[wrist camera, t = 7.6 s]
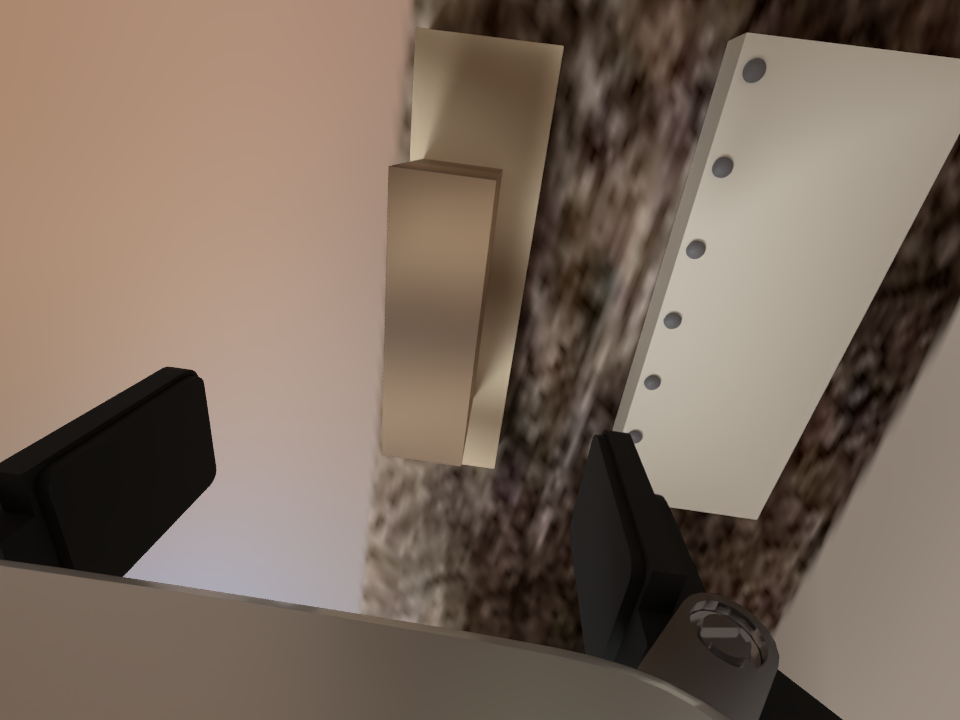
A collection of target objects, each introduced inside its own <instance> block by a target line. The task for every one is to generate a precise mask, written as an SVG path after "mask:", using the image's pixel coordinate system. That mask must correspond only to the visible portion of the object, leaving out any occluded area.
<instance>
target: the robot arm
mask: <svg viewBox="0 0 960 720" xmlns="http://www.w3.org/2000/svg"><path fill="white" fill-rule="evenodd" d="M215 475H216V464H215V457H214V449H213V443H212V435H211V429H210V421H209V415H208V407H207V400H206V394H205V387H204V382H203V380H202V378H200V377H198V375H197V373H196V372H195V371H193V370H188V369H181V368H174V367H165V368H162V369H161V370H159V371H157V372H155V373H154V374H152V375H150V376H148V377H147V378H145V379H143V380H142V381H140V382H138V383H137V384H135V385H133V386H131V387H130V388H128V389H126V390H124V391H123V392H121V393H119V394H118V395H116V396H115V397H112V398H111V399H109V400H108V401H106V402H104V403H102V404H100V405H99V406H97V407H95V408H93V409H92V410H90V411H88V412H87V413H85V414H84V415H82V416H80V417H78V418H76V419H75V420H73V421H71V422H69V423H68V424H66V425H64V426H63V427H61V428H59V429H57V430H56V431H54V432H52V433H51V434H49V435H47V436H45V437H44V438H42V439H40V440H38V441H37V442H35V443H33V444H32V445H30V446H28V447H27V448H25V449H23V450H21V451H20V452H18V453H16V454H14V455H13V456H11V457H9V458H8V459H6V460H4V461H3V462H1V463H0V720H842V719H841V718H840V717H838V716H837V715H836V714H835V713H833V712H832V711H831V710H829V709H828V708H827V707H826V706H824V705H823V704H822V703H820V702H819V701H818V700H817V699H815V698H814V697H813V696H811V695H810V694H809V693H807V692H806V691H805V690H803V689H802V688H801V687H800V686H798V685H797V684H796V683H794V682H793V681H792V680H791V679H789V678H788V677H787V676H785V675H784V674H782V672H780V671H779V670H778V663H779V654H778V650H777V647H776V644H775V641H774V640H773V638H772V636H771V635H770V633H769V631H768V630H767V628H766V627H765V626H764V625H763V624H762V623H761V622H760V621H759V620H758V619H757V618H756V616H754V615H753V614H752V613H751V612H749V611H748V610H747V609H745V608H744V607H743V606H741V605H740V604H738V603H736V602H734V601H732V600H730V599H729V598H726V597H723V596H720V595H717V594H714V593H706V591H705V589H704V587H703V584H702V582H701V580H700V577H699V575H698V573H697V570H696V568H695V566H694V564H693V561H692V559H691V557H690V554H689V552H688V550H687V547H686V545H685V543H684V540H683V538H682V536H681V533H680V531H679V529H678V526H677V524H676V522H675V520H674V517H673V515H672V513H671V510H670V508H669V506H668V503H667V501H666V500H665V498H664V497H663V496H662V495H658V494H654V491H653V489H652V487H651V484H650V482H649V479H648V477H647V474H646V472H645V469H644V467H643V464H642V462H641V459H640V457H639V454H638V452H637V449H636V447H635V445H634V442H633V440H632V437H631V435H630V434H629V433H624V432H617V431H610V430H604V431H603V433H602V435H594V437H593V440H592V443H591V447H590V451H589V455H588V459H587V463H586V466H585V470H584V474H583V478H582V482H581V486H580V489H579V493H578V497H577V501H576V505H575V508H574V512H573V516H572V520H571V525H570V543H571V550H572V558H573V565H574V573H575V580H576V588H577V595H578V603H579V610H580V618H581V625H582V633H583V640H584V648H585V654H581V653H577V652H572V651H568V650H564V649H559V648H555V647H550V646H544V645H539V644H533V643H528V642H522V641H517V640H511V639H505V638H500V637H494V636H489V635H483V634H478V633H472V632H467V631H460V630H454V629H448V628H442V627H436V626H430V625H424V624H417V623H411V622H405V621H399V620H393V619H387V618H380V617H374V616H368V615H362V614H356V613H350V612H344V611H337V610H331V609H324V608H318V607H312V606H306V605H299V604H293V603H287V602H280V601H274V600H268V599H261V598H255V597H248V596H242V595H235V594H229V593H223V592H216V591H209V590H204V589H197V588H190V587H184V586H178V585H171V584H164V583H158V582H151V581H144V580H138V579H131V578H125V577H123V576H124V575H125V574H126V573H127V572H128V571H129V570H130V569H131V568H132V567H133V566H134V564H135V563H136V562H137V561H138V560H139V559H140V558H141V557H142V556H143V555H144V554H145V553H146V552H147V551H148V550H149V549H150V548H151V547H152V546H153V545H154V543H155V542H156V541H157V540H158V539H159V538H160V537H161V536H162V535H163V534H164V533H165V532H166V531H167V530H168V529H169V528H170V527H171V526H172V525H173V524H174V523H175V521H176V520H177V519H178V518H179V517H180V516H181V515H182V514H183V513H184V512H185V511H186V510H187V509H188V508H189V507H190V506H191V505H192V504H193V503H194V501H196V499H197V498H198V497H199V496H200V495H201V494H202V493H203V492H204V491H205V490H206V489H207V488H208V487H209V486H210V485H211V483H212V482H213V480H214V478H215Z"/></svg>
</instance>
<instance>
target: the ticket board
mask: <svg viewBox="0 0 960 720" xmlns="http://www.w3.org/2000/svg"><path fill="white" fill-rule="evenodd" d="M959 134H960V59H957V58H949V57H941V56H933V55H925V54H917V53H909V52H901V51H893V50H885V49H877V48H869V47H860V46H852V45H844V44H836V43H828V42H820V41H812V40H804V39H796V38H788V37H780V36H772V35H763V34H755V33H745V34H742V35H740V36H738V37H736V38H734V39H732V40H729V41H728V43H727V46H726V50H725V53H724V56H723V60H722V63H721V66H720V70H719V73H718V77H717V80H716V83H715V87H714V90H713V93H712V97H711V100H710V103H709V107H708V110H707V114H706V117H705V120H704V124H703V127H702V130H701V134H700V137H699V140H698V144H697V147H696V151H695V154H694V157H693V161H692V164H691V167H690V171H689V174H688V177H687V181H686V184H685V188H684V191H683V194H682V198H681V201H680V204H679V208H678V211H677V214H676V218H675V221H674V224H673V228H672V231H671V235H670V238H669V241H668V245H667V248H666V251H665V255H664V258H663V261H662V265H661V268H660V272H659V275H658V278H657V282H656V285H655V288H654V292H653V295H652V298H651V302H650V305H649V309H648V312H647V315H646V319H645V322H644V325H643V329H642V332H641V335H640V339H639V342H638V346H637V349H636V352H635V356H634V359H633V362H632V366H631V369H630V372H629V376H628V379H627V382H626V386H625V389H624V393H623V396H622V399H621V403H620V406H619V409H618V413H617V416H616V419H615V423H614V426H613V430H612V431H617V432H624V433H629V434H630V435H631V437H632V440H633V442H634V445H635V447H636V449H637V452H638V454H639V457H640V459H641V462H642V464H643V467H644V469H645V472H646V474H647V477H648V479H649V482H650V484H651V487H652V489H653V491H654V494H658V495H662V496H663V497H664V498H665V500H666V501H667V503H668V506H669V507H672V508H679V509H686V510H692V511H699V512H706V513H713V514H720V515H727V516H734V517H741V518H748V519H754V520H757V519H758V517H759V515H760V513H761V511H762V509H763V507H764V505H765V503H766V501H767V500H768V498H769V496H770V494H771V492H772V490H773V488H774V486H775V484H776V482H777V481H778V479H779V477H780V475H781V473H782V471H783V469H784V467H785V465H786V463H787V461H788V460H789V458H790V456H791V454H792V452H793V450H794V448H795V446H796V444H797V442H798V441H799V439H800V437H801V435H802V433H803V431H804V429H805V427H806V425H807V423H808V421H809V420H810V418H811V416H812V414H813V412H814V410H815V408H816V406H817V404H818V402H819V401H820V399H821V397H822V395H823V393H824V391H825V389H826V387H827V385H828V383H829V381H830V380H831V378H832V376H833V374H834V372H835V370H836V368H837V366H838V364H839V362H840V361H841V359H842V357H843V355H844V353H845V351H846V349H847V347H848V345H849V343H850V341H851V340H852V338H853V336H854V334H855V332H856V330H857V328H858V326H859V324H860V322H861V321H862V319H863V317H864V315H865V313H866V311H867V309H868V307H869V305H870V303H871V301H872V300H873V298H874V296H875V294H876V292H877V290H878V288H879V286H880V284H881V282H882V281H883V279H884V277H885V275H886V273H887V271H888V269H889V267H890V265H891V263H892V261H893V260H894V258H895V256H896V254H897V252H898V250H899V248H900V246H901V244H902V242H903V241H904V239H905V237H906V235H907V233H908V231H909V229H910V227H911V225H912V223H913V221H914V220H915V218H916V216H917V214H918V212H919V210H920V208H921V206H922V204H923V202H924V201H925V199H926V197H927V195H928V193H929V191H930V189H931V187H932V185H933V183H934V181H935V180H936V178H937V176H938V174H939V172H940V170H941V168H942V166H943V164H944V162H945V161H946V159H947V157H948V155H949V153H950V151H951V149H952V147H953V145H954V143H955V141H956V140H957V138H958V136H959Z"/></svg>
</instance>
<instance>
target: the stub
mask: <svg viewBox="0 0 960 720" xmlns="http://www.w3.org/2000/svg"><path fill="white" fill-rule="evenodd" d="M563 49H564V46H561V45H553V44H545V43H537V42H529V41H521V40H513V39H505V38H497V37H489V36H481V35H473V34H465V33H457V32H449V31H441V30H433V29H425V28H417V27H416V32H415V55H414V78H413V101H412V124H411V147H410V162H406V163H401V164H397V165H392V166H389V174H388V215H387V256H386V297H385V338H384V379H383V420H382V455H385V456H392V457H399V458H406V459H413V460H420V461H427V462H434V463H440V464H447V465H454V466H461V465H462V464H464V465H471V466H478V467H485V468H492V469H494V467H495V461H496V455H497V449H498V443H499V437H500V431H501V425H502V419H503V413H504V407H505V400H506V394H507V388H508V382H509V376H510V370H511V364H512V358H513V352H514V346H515V340H516V334H517V328H518V322H519V316H520V309H521V303H522V297H523V291H524V285H525V279H526V273H527V267H528V261H529V255H530V249H531V243H532V237H533V231H534V225H535V218H536V212H537V206H538V200H539V194H540V188H541V182H542V176H543V170H544V164H545V158H546V152H547V146H548V140H549V134H550V128H551V121H552V115H553V109H554V103H555V97H556V91H557V85H558V79H559V73H560V67H561V61H562V55H563Z"/></svg>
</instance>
